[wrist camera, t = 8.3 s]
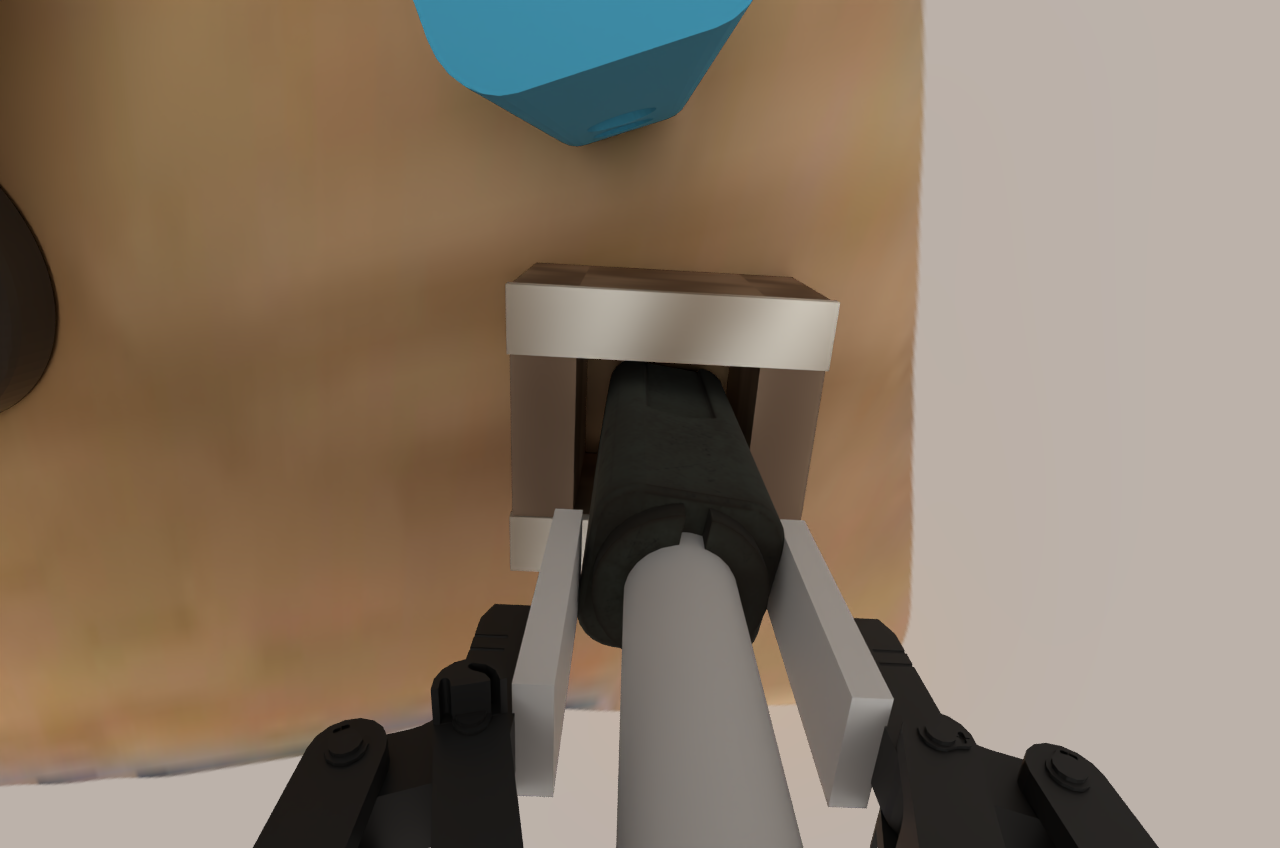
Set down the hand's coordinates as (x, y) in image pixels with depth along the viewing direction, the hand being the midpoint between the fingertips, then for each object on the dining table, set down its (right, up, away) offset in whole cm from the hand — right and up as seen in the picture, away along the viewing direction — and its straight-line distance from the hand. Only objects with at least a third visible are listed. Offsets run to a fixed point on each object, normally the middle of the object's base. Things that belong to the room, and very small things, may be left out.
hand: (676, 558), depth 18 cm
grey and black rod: (0, +4, +11) cm, 12 cm away
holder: (0, +5, +14) cm, 15 cm away
